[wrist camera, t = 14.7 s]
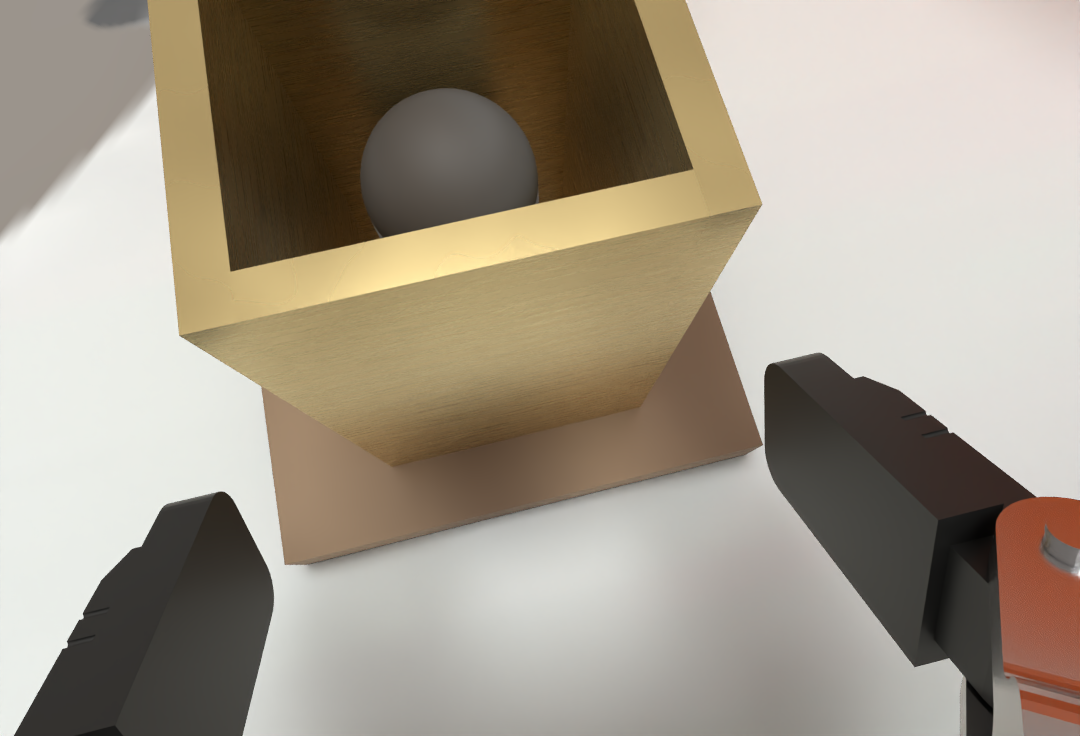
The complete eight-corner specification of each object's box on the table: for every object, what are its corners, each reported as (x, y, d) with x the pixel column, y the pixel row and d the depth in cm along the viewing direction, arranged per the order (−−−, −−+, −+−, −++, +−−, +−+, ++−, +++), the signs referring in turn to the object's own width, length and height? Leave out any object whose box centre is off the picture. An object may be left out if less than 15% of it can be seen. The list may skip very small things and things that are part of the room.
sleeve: (577, 190, 19) (608, -202, 9) (640, 407, 17) (762, 204, 7) (351, 240, 18) (136, -114, 9) (391, 466, 17) (179, 335, 7)
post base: (641, 144, 21) (716, -182, 12) (745, 454, 18) (947, 344, 9) (259, 229, 20) (20, -47, 11) (306, 564, 17) (41, 566, 8)
